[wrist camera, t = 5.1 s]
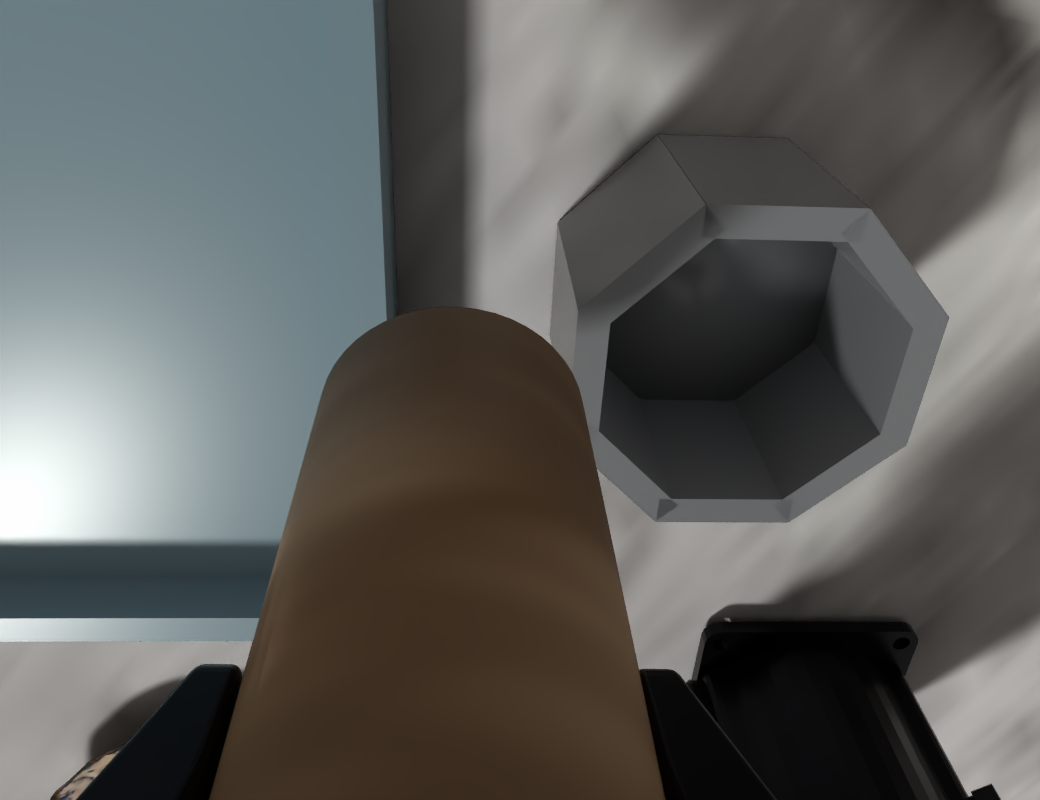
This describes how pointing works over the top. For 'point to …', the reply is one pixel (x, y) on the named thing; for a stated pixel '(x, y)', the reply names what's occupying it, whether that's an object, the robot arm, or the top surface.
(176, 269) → the tray
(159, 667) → the top surface
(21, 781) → the top surface
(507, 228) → the top surface
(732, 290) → the cup
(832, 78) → the top surface
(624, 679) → the peg
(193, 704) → the robot arm
